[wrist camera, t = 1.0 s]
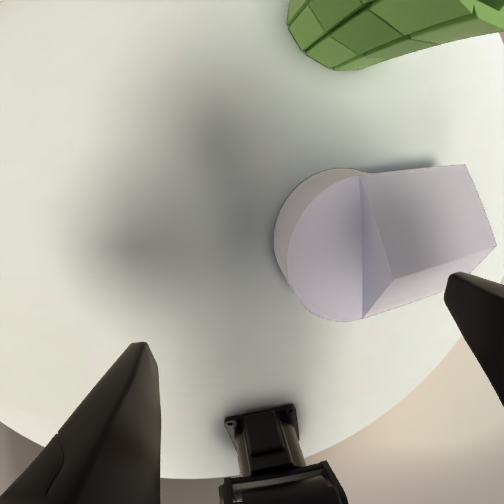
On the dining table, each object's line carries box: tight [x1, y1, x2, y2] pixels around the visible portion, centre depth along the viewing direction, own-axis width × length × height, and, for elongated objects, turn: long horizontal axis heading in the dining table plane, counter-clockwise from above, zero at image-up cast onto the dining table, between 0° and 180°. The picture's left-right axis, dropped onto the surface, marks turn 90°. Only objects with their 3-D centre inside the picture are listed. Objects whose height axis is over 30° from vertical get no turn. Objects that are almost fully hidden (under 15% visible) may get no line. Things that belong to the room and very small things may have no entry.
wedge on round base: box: [274, 164, 497, 322], centre depth 17 cm, size 9×7×13 cm
